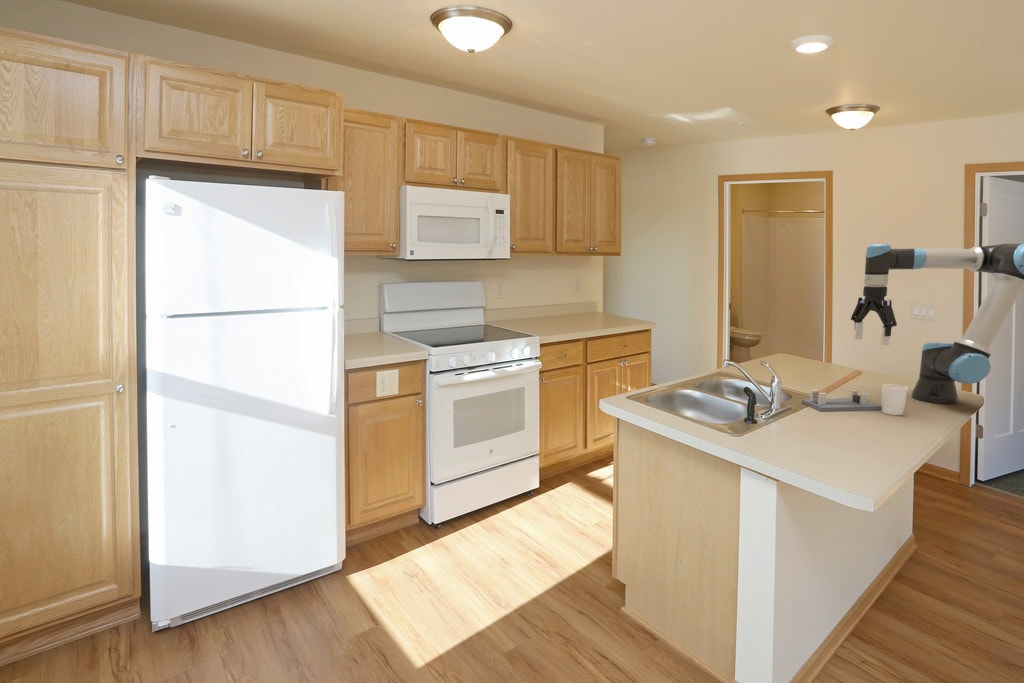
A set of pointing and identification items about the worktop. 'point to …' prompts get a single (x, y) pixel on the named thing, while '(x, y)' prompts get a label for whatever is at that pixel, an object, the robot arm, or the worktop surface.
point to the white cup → (893, 399)
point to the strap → (839, 383)
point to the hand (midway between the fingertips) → (871, 342)
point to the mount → (841, 403)
